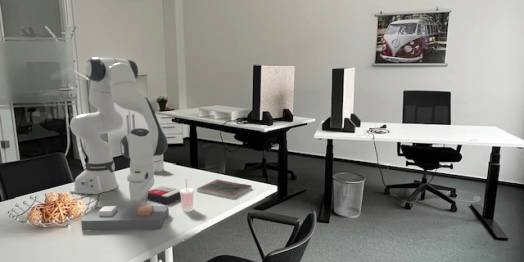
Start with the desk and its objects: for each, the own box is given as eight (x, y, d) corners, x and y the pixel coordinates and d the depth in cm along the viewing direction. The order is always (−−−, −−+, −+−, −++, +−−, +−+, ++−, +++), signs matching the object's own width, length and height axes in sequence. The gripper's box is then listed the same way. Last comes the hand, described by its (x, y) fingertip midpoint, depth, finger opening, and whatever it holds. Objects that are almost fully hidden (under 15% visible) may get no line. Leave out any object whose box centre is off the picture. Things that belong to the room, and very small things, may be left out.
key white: (99, 220, 147) (98, 211, 146) (104, 215, 152) (103, 206, 151) (112, 220, 147) (111, 211, 146) (116, 215, 152) (116, 206, 151)
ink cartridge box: (147, 171, 219) (145, 146, 216) (151, 168, 224) (149, 145, 221) (160, 172, 217) (158, 147, 214) (164, 169, 222) (163, 145, 219)
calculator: (161, 185, 184) (184, 188, 177) (162, 193, 185) (184, 197, 177) (144, 191, 175) (167, 196, 167) (144, 200, 176) (168, 205, 168)
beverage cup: (196, 210, 161) (195, 179, 159) (183, 213, 158) (181, 182, 155) (191, 206, 166) (190, 175, 164) (178, 208, 163) (176, 178, 160)
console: (82, 230, 143) (81, 220, 142) (97, 215, 156) (96, 206, 156) (160, 229, 143) (160, 219, 143) (168, 214, 157) (168, 205, 156)
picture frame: (251, 190, 188) (217, 183, 199) (251, 185, 188) (216, 178, 198) (233, 200, 174) (197, 192, 185) (233, 195, 174) (197, 188, 184)
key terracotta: (137, 220, 147) (137, 210, 146) (141, 214, 152) (140, 205, 151) (150, 219, 147) (149, 210, 147) (153, 214, 152) (153, 205, 151)
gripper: (142, 162, 156) (143, 194, 159) (125, 178, 136) (127, 214, 139) (157, 162, 156) (158, 194, 159) (142, 178, 136) (144, 214, 139)
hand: (144, 203), depth 149 cm, fingers closed
